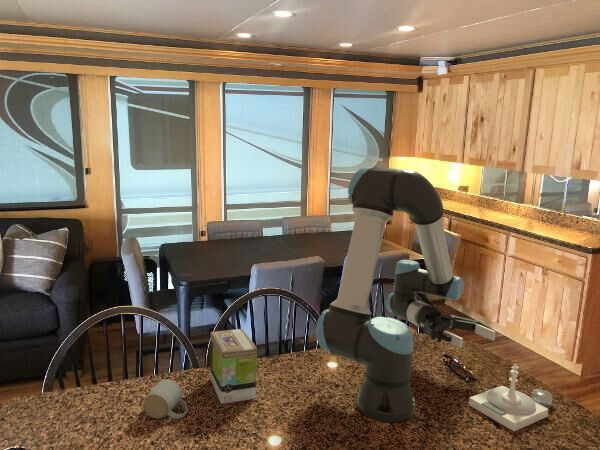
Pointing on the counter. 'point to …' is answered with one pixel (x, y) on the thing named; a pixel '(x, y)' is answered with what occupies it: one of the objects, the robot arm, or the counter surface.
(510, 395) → the chess piece
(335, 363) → the counter surface
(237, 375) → the tea box
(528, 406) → the scale
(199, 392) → the counter surface
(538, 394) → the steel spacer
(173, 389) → the ceramic mug
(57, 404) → the counter surface
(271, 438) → the counter surface
